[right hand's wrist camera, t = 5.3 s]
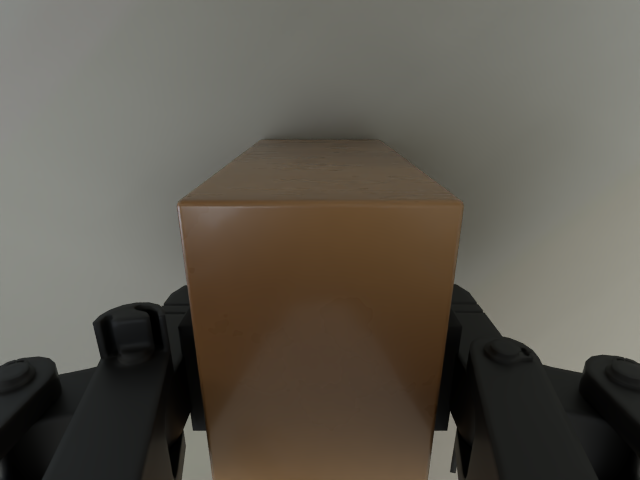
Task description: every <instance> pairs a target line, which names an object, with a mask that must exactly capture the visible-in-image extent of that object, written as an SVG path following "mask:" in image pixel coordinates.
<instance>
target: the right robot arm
mask: <svg viewBox="0 0 640 480" xmlns="http://www.w3.org/2000/svg"><path fill="white" fill-rule="evenodd" d="M93 326H94V331H95V335H96V339H97V343H98V348H99V352H100V356H101V360H100V362H99V364H98V366H97V367H94V368H90V369H85V370H80V371H75V372H70V373H65V374H60V375H58V372H57V368H56V365H55V363H54V362H53V361H52V360H51V359H50V358H44V357H29V358H21V359H17V360H13V361H10V362H7V363H5V364H4V365H1V366H0V480H182V472H183V464H184V456H185V448H186V444H185V437H184V431H183V429H184V426H185V424H186V421H187V419H188V416H189V414H190V413H191V420H192V427H193V431H206V425H205V417H204V409H203V402H202V394H201V386H200V379H199V371H198V363H197V356H196V348H195V341H194V333H193V325H192V318H191V310H190V302H189V295H188V287H187V285H185V286H183V287H181V288H180V289H178V290H177V291H175V292H174V293H172V294H171V295H170V296H169V298H168V299H167V300H166V302H165V303H164V306H162V307H161V306H160V305H158V304H153V303H149V302H146V303H132V304H126V305H122V306H119V307H116V308H113V309H111V310H109V311H107V312H105V313H103V314H102V315H100V316H99V317H98V318H97V319H96V320H95V321H94V322H93ZM450 411H451V414H452V416H453V419H454V421H455V423H456V426H457V431H456V437H455V443H454V450H453V456H452V462H451V470H450V472H452V473H456V467H457V472H458V480H640V364H639V363H637V362H636V361H634V360H631V359H627V358H626V359H625V358H624V357H619V356H610V355H598V356H592V357H590V358H589V359H588V360H587V361H586V362H585V366H584V369H583V373H579V372H574V371H569V370H564V369H559V368H554V367H550V366H546V365H542V363H541V361H540V359H539V357H538V356H537V355H536V354H535V352H534V351H533V350H532V349H530V348H529V347H527V346H526V345H524V344H523V343H521V342H518V341H516V340H513V339H511V338H507V337H502V335H501V334H500V333H499V331H498V330H497V329H496V327H495V326H494V325H493V323H492V322H491V321H490V319H489V318H488V317H487V315H486V314H485V313H483V310H482V309H481V308H480V306H479V305H478V304H477V302H476V301H475V300H474V298H473V297H472V296H471V294H470V293H469V292H467V291H466V290H464V289H463V288H461V287H459V286H458V285H456V284H454V285H453V292H452V300H451V307H450V315H449V323H448V330H447V338H446V345H445V353H444V360H443V368H442V375H441V383H440V391H439V398H438V406H437V413H436V421H435V428H434V431H447V429H448V422H449V415H450Z"/></svg>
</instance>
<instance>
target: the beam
mask: <svg viewBox="0 0 640 480" xmlns="http://www.w3.org/2000/svg"><path fill="white" fill-rule="evenodd" d="M463 209H464V205H463V201H461V200H460V199H458V198H457V197H456V196H454V195H453V194H452V193H450V192H449V191H448V190H446V189H445V188H444V187H442V186H441V185H440V184H438V183H437V182H436V181H434V180H433V179H432V178H430V177H429V176H428V175H426V174H425V173H424V172H422V171H421V170H420V169H418V168H417V167H415V166H414V165H413V164H411V163H410V162H409V161H407V160H406V159H405V158H403V157H402V156H401V155H399V154H398V153H397V152H395V151H394V150H393V149H391V148H390V147H389V146H387V145H386V144H385V143H383V142H382V141H380V140H260V141H258V142H257V143H256V144H254V145H253V146H252V147H250V148H249V149H248V150H246V151H245V152H244V153H242V154H241V155H240V156H238V157H237V158H236V159H234V160H233V161H232V162H230V163H229V164H228V165H226V166H225V167H224V168H222V169H221V170H220V171H218V172H217V173H216V174H214V175H213V176H212V177H210V178H209V179H208V180H206V181H205V182H204V183H202V184H201V185H200V186H198V187H197V188H196V189H194V190H193V191H192V192H190V193H189V194H188V195H186V196H185V197H183V198H182V199H181V200H179V201H178V204H177V211H178V218H179V226H180V234H181V241H182V249H183V257H184V264H185V272H186V279H187V287H188V295H189V302H190V310H191V318H192V325H193V333H194V341H195V348H196V356H197V363H198V371H199V379H200V386H201V394H202V402H203V409H204V417H205V425H206V432H207V440H208V447H209V455H210V463H211V470H212V478H213V480H428V474H429V466H430V459H431V451H432V443H433V436H434V428H435V421H436V413H437V406H438V398H439V391H440V383H441V375H442V368H443V360H444V353H445V345H446V338H447V330H448V323H449V315H450V307H451V300H452V292H453V285H454V277H455V270H456V262H457V255H458V247H459V239H460V232H461V224H462V217H463Z"/></svg>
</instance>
